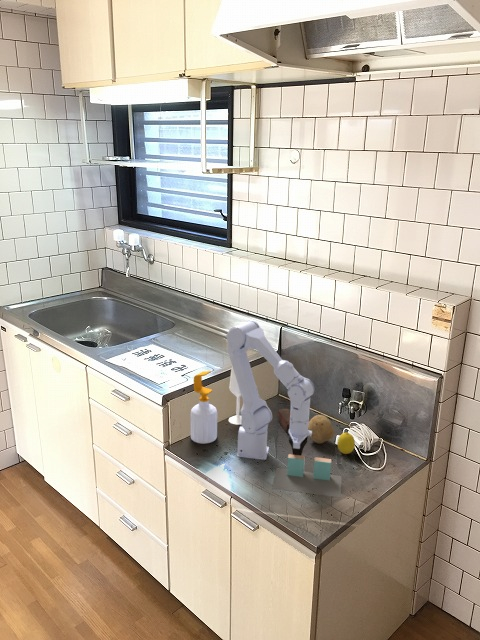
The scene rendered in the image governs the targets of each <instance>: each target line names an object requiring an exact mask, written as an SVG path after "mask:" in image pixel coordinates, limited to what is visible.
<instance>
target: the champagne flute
mask: <svg viewBox="0 0 480 640" xmlns="http://www.w3.org/2000/svg"><path fill="white" fill-rule="evenodd" d="M228 388H229V391H230V392H231V393H232V394H233V395H234V396H235V397H236V405H235V406H236V407H235V408H236V409H235V412H236V413H235V415H233V416H230V417H229V418H228V422H229V423H230V424H233V425H241V414H240V411H241V409H240V405H241V397H242V396H241V393H240V389H239V386H238V383H237V379H236V376H235V373H234V369H233V366H232V365H231V369H230V379H229V386H228Z"/></svg>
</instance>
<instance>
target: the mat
mask: <svg viewBox="0 0 480 640" xmlns="http://www.w3.org/2000/svg"><path fill="white" fill-rule="evenodd" d="M313 473H314V472H311V471H304V475H303V477H299V476H291V475H287V468H280V467H279V468H278V467H277V468H276V470H275V474H274V478H273V483H272V489H273V490H280V491H281V490H282V491H288V492H296V493H304V494H311V495H319V496H326V497H333V498H342V475H335V474H330V480H322V479H314V478H313Z"/></svg>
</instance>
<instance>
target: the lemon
mask: <svg viewBox="0 0 480 640" xmlns="http://www.w3.org/2000/svg"><path fill="white" fill-rule="evenodd" d="M355 445H356V444H355V438H354V436H353V435H352V434H351V433H349V432H343V433H341V434H340V435H339V437H338V439H337V448H338V451H339V452H340V453H342V454H344V455H347V454H348V455H349V454H351V453H352V452H353V451H354V449H355Z"/></svg>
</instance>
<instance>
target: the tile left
mask: <svg viewBox="0 0 480 640" xmlns="http://www.w3.org/2000/svg"><path fill="white" fill-rule="evenodd" d="M305 459H306V455H293V453H292V454H291V453H288V455H287V464H286V465H287V468H286V469H287V475H291V476H299V477H303V475H304V472H305V461H306V460H305Z"/></svg>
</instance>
